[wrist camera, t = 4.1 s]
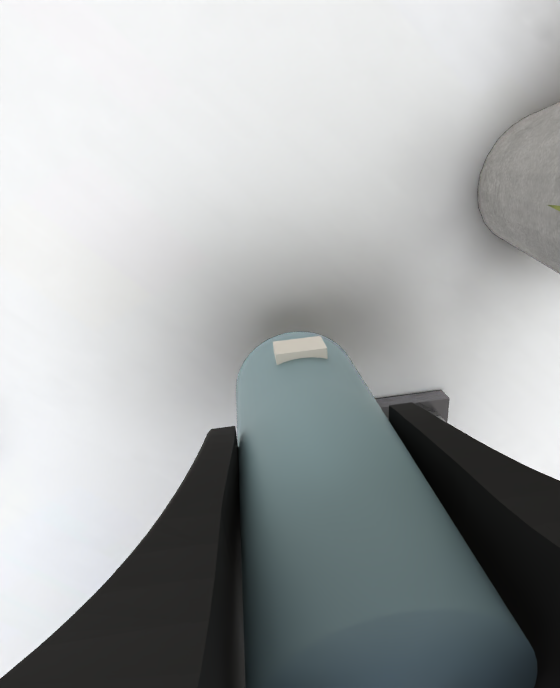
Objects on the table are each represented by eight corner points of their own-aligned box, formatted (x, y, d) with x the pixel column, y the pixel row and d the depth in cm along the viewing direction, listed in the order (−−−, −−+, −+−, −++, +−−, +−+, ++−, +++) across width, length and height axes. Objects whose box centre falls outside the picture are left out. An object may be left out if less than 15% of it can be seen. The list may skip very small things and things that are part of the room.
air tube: (355, 429, 15) (514, 758, 7) (243, 444, 14) (262, 808, 6) (354, 318, 13) (565, 573, 5) (227, 333, 13) (225, 630, 5)
